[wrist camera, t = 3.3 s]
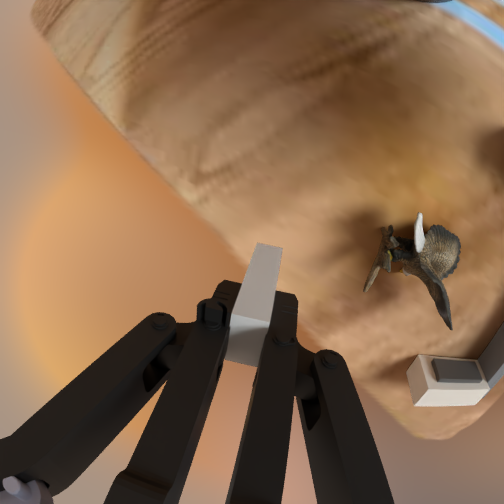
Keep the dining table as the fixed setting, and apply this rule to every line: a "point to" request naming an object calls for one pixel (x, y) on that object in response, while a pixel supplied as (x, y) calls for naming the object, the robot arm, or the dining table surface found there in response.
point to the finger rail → (456, 376)
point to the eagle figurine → (421, 260)
